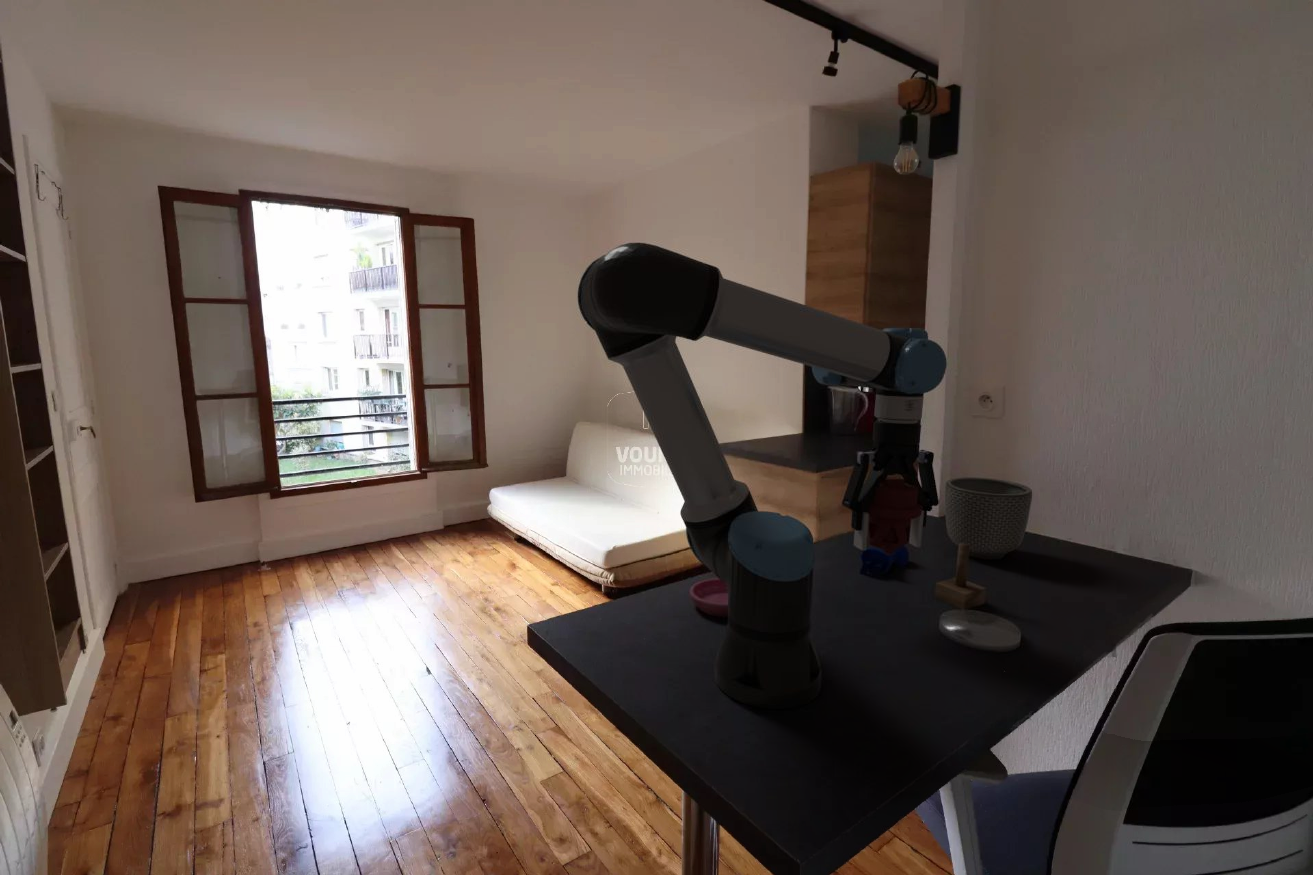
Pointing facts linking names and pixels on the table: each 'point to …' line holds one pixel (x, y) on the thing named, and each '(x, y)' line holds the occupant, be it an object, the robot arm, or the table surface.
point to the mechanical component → (892, 514)
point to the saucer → (711, 597)
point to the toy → (882, 560)
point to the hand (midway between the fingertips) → (887, 546)
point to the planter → (987, 515)
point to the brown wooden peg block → (960, 585)
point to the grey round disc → (980, 630)
